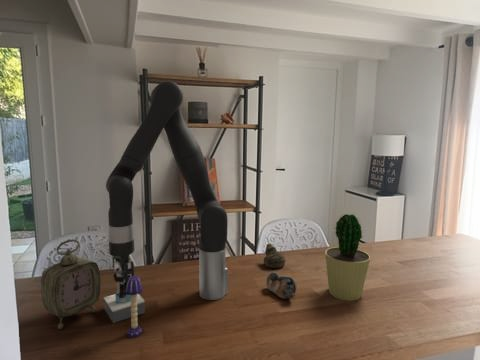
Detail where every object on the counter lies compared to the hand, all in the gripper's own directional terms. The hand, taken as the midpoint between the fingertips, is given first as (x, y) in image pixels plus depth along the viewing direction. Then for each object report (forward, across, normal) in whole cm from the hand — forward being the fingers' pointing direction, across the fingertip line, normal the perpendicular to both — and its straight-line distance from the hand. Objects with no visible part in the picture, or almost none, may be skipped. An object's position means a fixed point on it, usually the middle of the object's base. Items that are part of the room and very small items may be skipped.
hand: (123, 287), depth 105 cm
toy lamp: (+8, -14, +1) cm, 16 cm away
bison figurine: (+8, -21, -49) cm, 54 cm away
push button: (+4, -1, 0) cm, 5 cm away
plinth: (+8, 0, 0) cm, 8 cm away
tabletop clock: (+8, +5, +14) cm, 17 cm away
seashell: (+8, -2, -64) cm, 65 cm away
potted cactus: (+8, -34, -69) cm, 77 cm away
